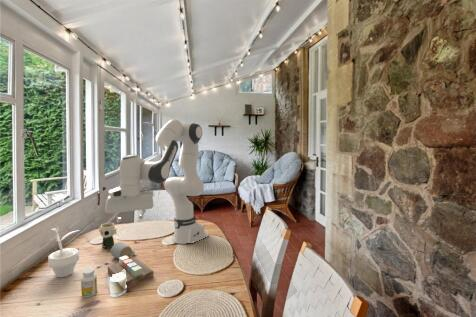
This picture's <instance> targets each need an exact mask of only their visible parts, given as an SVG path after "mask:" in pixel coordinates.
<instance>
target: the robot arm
mask: <svg viewBox="0 0 476 317" xmlns="http://www.w3.org/2000/svg"><path fill="white" fill-rule="evenodd" d="M162 126H163V127H162V128H160V130H159V131H158V133H157V134H156V136H155V143H156V145H157V146H158V147H159V148H160V150H162V151H164V153H163V154H162V157H161V158H160V159H159V160H158V161H157V160H156V161H148V160H144V159H142V158H141V157H140V155H139V154H138V155H137V154H127V155H123V156H122V157H121V159H120V162H119V177H120V181H119V186H117V187H114V188H113V189H109V190H108V192H107V193H108V196H107V197H106V200H105V206H104V211H105V213H106V214H108V215H110V214H113V215H114V216H115V218H116V223H121V222H122V217H119V216H118V215H119V213H126V212H132V211H133V212H134V211H141V213H140V214H138V219H139V220H143V219H144V215H145V213H146V210H149V209H152V208H153V207H154V199H153V197H154V191H153V190H152V189H150V188H147V189H145V188H144V189H141V188H142V186H141V182H149V183H155V184H160V185H161V184H163V183H164V190H165V191H166V193H167V194H169V196H170V197H171V199H172V201H173V202H172V203H173V205H174V220H173V221H174V231H173V232H174V233H173V238H172V242H173V243H175V244H179V245H187V244H186V243H194V242H196V241H198V242H200V241H202V240H204V239H206V238H208V237H209V233H208V232H207V231H205V228H204V226H203V225H202V224H201V223H199V222H197V221H199V219H200V217H199V216H194V204H193V202H192V201H190V200H189V198H188V197H197V196H200V195H202V194H203V192H204V189H205V183H204V182H203V180H202V179H201V178H200V177H199V174H198V171H197V170H198V169H197V164H198V157H199V142H200V140H201V139H202V137H203V129H202V127H201V125H200V124H198V123H195V122H194V123H190V122H184V123H182V122H181V121H180V120H178V119H170V120H169V121H168V122H166V123H165V124H164V125H162ZM178 142H180V143H182V144H181V149H180V153H179V156H178V158H179V159H178V165H177V166H178V168H179V170H180V171H182V172H183V176H172V177H171V176H170V172H171V168H172V166H173V163H174V161H175V158H176V155H177V154H178V150H179V145H178ZM187 196H188V197H187ZM207 236H208V237H207ZM205 237H206V238H205ZM203 238H204V239H203ZM201 239H202V240H201ZM199 240H200V241H199ZM193 241H194V242H193ZM196 243H197V242H196ZM194 244H195V243H194Z"/></svg>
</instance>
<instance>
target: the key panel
mask: <svg viewBox="0 0 476 317" xmlns="http://www.w3.org/2000/svg"><path fill="white" fill-rule="evenodd" d="M129 259H131V260H133V262H135V263H136V264H137V266H138V265H139V266H140V267H141V268H142V275H140V276H137V277H135V278H134V277H133V276H132V275H131V273H130V274H129V273H128V272H127V270H126V275H127V281H126V285H127V289H129V288H132V287H134V286H136V285H138V284H141V283H144V282H147V281H149V280H151V279H153V278H154V270H153V269H152V268H150V267H149V266H148V265H146V264H145V263H144V262H143V261H141V260H140V259H139V258H138V257H136V256H134V257H131V258H130V257H129ZM123 269H124V268H123V266H121V265H120V264H119V261H118V262H116V263H112V264H110V265H107V273H108V274H109V276H111V275H112V274H116V273H119V272H121V271H122V270H123Z"/></svg>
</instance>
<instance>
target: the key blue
mask: <svg viewBox="0 0 476 317" xmlns="http://www.w3.org/2000/svg"><path fill="white" fill-rule="evenodd" d="M135 266H137V264H136V263H135V262H132V263H129V264H127V272H128V273H129V274H130V273H131V268H133V267H135Z"/></svg>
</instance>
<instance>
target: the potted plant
mask: <svg viewBox="0 0 476 317" xmlns="http://www.w3.org/2000/svg"><path fill="white" fill-rule="evenodd" d="M60 229H61V228H60V227H59V226H58V224H57V225H56V227H54V228H50V231H53V232H54V233H55V234H54V236H53V238H54V239H55V241H56V242H58V243H57V244H58V247H59V250H56V251H54V252H51V253H50V254H49V255H48V256H47V257H48V258H47V260H48V267H49V268H50V269H52V271H53V273H54V275H55V276H56V277H57V278H65V277H68V276H71V275H72V273H73V272H74V270H75V267H76V265H77V262H78V261H79V260H80V251H79V250H78V248H74V247H67V248H64V247H63V243H62V241H64V240H65V239H67V238H68V237H69V236H71V235H73V234H74V233H77V232H80V231H81V229H78V230H73V231H69V232H68V233H67V234H65V235H63V236H62V235H59V230H60Z"/></svg>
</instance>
